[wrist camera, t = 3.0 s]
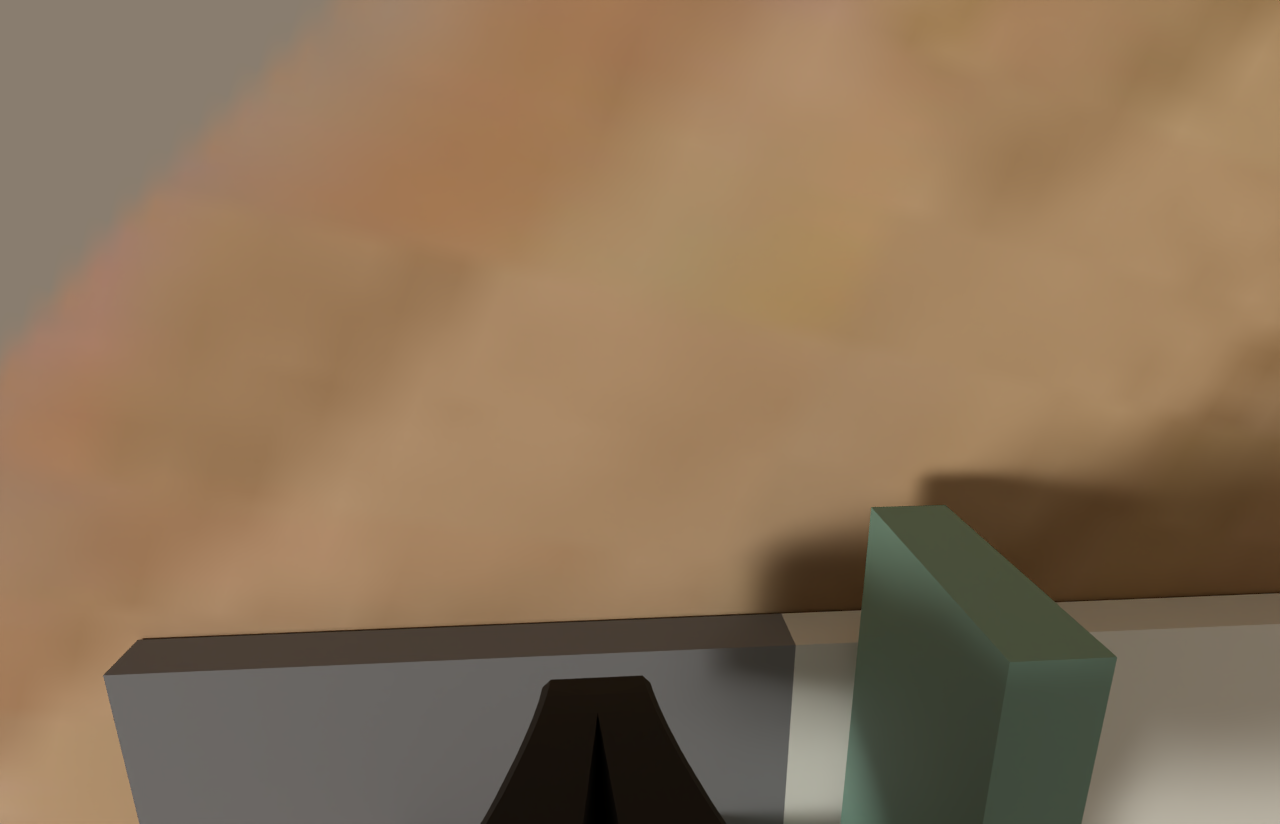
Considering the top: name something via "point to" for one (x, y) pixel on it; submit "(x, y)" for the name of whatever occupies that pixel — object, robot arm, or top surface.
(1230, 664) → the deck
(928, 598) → the bar
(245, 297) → the top surface
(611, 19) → the top surface
